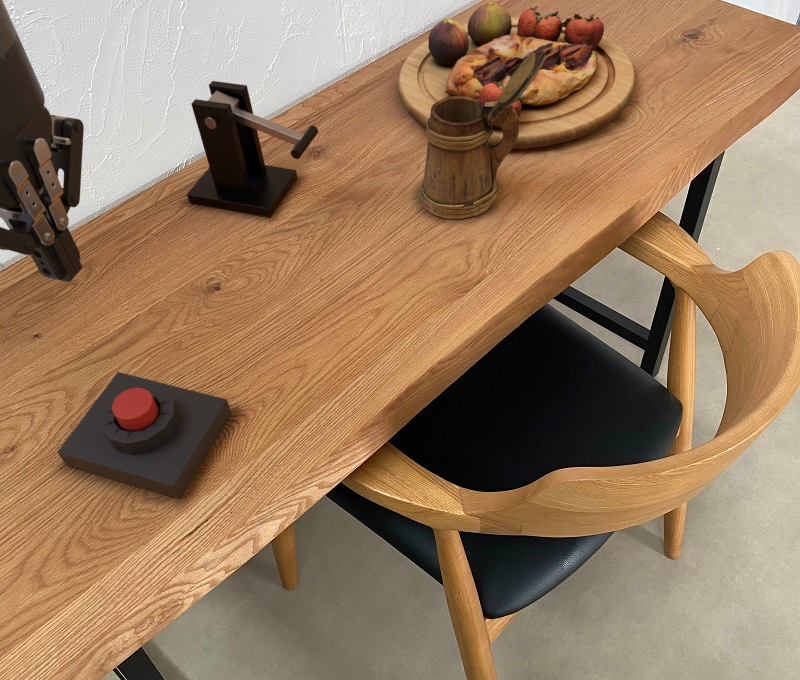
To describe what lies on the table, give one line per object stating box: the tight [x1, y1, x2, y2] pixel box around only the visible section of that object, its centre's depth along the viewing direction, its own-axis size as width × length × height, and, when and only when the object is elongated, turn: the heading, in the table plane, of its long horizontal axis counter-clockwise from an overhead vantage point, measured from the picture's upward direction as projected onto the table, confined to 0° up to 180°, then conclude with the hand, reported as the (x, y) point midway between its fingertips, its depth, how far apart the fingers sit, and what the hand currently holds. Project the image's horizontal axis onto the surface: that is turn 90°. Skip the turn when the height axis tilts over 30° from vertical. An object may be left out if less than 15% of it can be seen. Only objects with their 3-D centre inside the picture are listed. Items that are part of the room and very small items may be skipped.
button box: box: [57, 371, 233, 500], centre depth 73 cm, size 12×10×4 cm
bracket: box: [186, 80, 299, 219], centre depth 93 cm, size 11×8×13 cm
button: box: [112, 388, 158, 431], centre depth 71 cm, size 4×4×2 cm
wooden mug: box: [419, 51, 547, 220], centre depth 87 cm, size 9×14×18 cm, turn 79°
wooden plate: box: [396, 0, 637, 149], centre depth 106 cm, size 32×32×8 cm
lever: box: [206, 91, 319, 160], centre depth 89 cm, size 12×5×2 cm, turn 70°
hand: (65, 274), depth 58 cm, fingers closed
